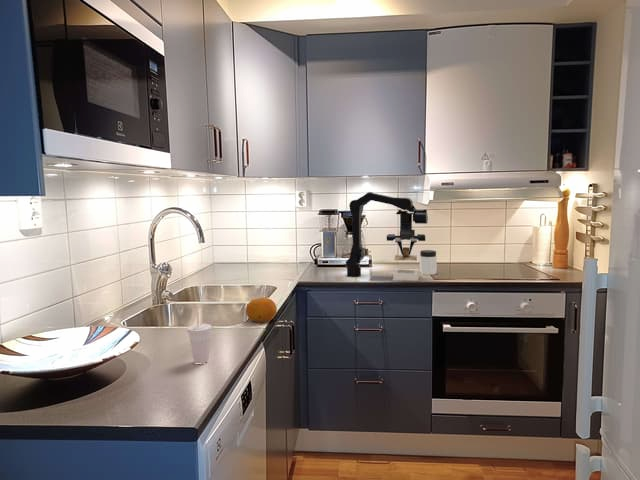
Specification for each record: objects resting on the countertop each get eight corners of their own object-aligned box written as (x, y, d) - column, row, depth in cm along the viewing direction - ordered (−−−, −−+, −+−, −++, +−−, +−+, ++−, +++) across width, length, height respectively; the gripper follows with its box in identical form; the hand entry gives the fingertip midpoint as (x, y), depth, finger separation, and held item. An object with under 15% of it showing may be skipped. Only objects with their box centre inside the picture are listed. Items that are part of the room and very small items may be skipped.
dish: (393, 281, 222) (393, 273, 222) (394, 276, 234) (394, 268, 234) (418, 282, 220) (418, 273, 219) (418, 277, 231) (418, 269, 231)
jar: (427, 275, 235) (428, 252, 234) (416, 273, 242) (416, 251, 241) (439, 273, 240) (440, 251, 239) (428, 271, 247) (428, 249, 245)
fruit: (265, 314, 167) (265, 293, 166) (282, 320, 159) (281, 298, 158) (240, 320, 161) (240, 298, 160) (256, 327, 152) (255, 303, 152)
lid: (394, 260, 222) (394, 249, 221) (395, 256, 232) (395, 246, 231) (416, 260, 219) (416, 249, 219) (416, 257, 230) (416, 246, 229)
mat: (369, 280, 224) (369, 280, 224) (371, 276, 235) (371, 275, 235) (392, 281, 222) (392, 280, 222) (393, 277, 233) (393, 276, 233)
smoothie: (183, 364, 120) (181, 313, 119) (198, 356, 126) (196, 307, 125) (204, 367, 118) (201, 315, 116) (218, 359, 124) (215, 309, 122)
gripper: (385, 224, 218) (385, 256, 220) (425, 224, 214) (425, 257, 216) (387, 223, 229) (387, 253, 230) (425, 222, 225) (425, 254, 226)
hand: (405, 254), depth 225 cm, fingers closed on lid, 3 cm apart
